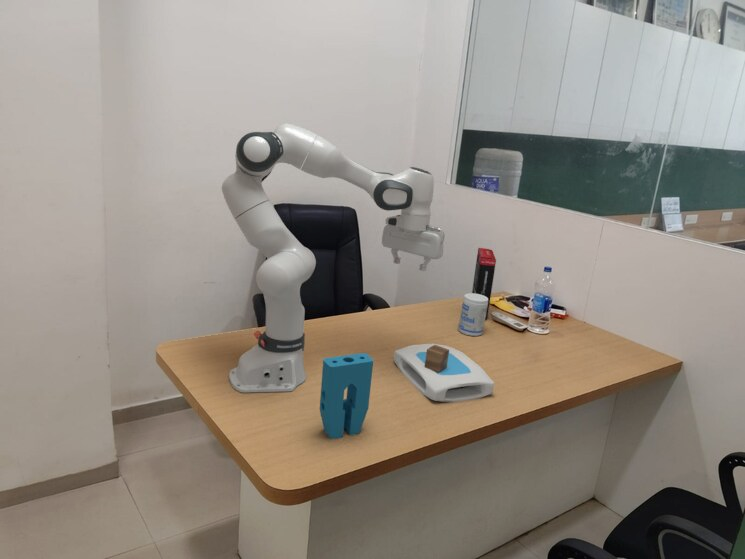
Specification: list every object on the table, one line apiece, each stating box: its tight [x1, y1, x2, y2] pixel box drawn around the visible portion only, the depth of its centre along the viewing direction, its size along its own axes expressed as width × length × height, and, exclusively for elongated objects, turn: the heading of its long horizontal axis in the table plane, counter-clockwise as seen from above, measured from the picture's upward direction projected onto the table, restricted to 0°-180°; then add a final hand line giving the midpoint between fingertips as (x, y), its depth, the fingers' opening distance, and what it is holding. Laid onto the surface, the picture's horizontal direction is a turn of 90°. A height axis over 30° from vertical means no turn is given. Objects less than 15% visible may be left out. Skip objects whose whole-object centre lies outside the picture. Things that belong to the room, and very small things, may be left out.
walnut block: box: [425, 345, 449, 373], centre depth 166 cm, size 5×5×6 cm
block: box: [319, 352, 374, 440], centre depth 136 cm, size 12×5×20 cm, turn 119°
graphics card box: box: [471, 247, 497, 321], centre depth 232 cm, size 17×7×27 cm, turn 174°
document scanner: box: [393, 342, 495, 403], centre depth 172 cm, size 21×28×6 cm
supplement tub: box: [458, 292, 488, 337], centre depth 212 cm, size 10×10×15 cm
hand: (409, 266), depth 168 cm, fingers open, 8 cm apart
